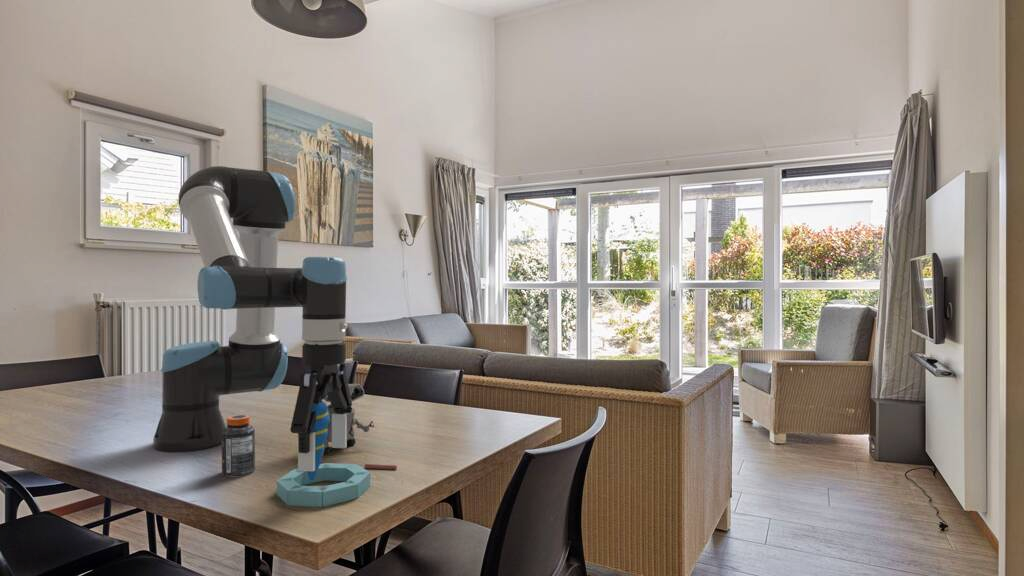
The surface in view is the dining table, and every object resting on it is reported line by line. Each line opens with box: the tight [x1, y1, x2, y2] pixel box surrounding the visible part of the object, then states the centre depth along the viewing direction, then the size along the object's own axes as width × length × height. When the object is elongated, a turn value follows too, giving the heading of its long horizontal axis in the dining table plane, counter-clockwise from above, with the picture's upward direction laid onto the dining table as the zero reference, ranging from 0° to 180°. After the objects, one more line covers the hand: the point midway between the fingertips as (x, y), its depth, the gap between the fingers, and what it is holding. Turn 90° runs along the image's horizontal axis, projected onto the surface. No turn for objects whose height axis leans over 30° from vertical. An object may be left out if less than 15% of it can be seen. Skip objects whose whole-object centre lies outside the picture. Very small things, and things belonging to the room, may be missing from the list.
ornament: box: [307, 400, 330, 480], centre depth 101 cm, size 5×5×15 cm
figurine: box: [323, 383, 375, 455], centre depth 130 cm, size 9×12×15 cm
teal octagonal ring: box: [276, 462, 371, 508], centre depth 105 cm, size 15×15×2 cm
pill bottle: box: [221, 414, 256, 478], centre depth 114 cm, size 6×6×11 cm
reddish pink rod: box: [363, 463, 398, 470], centre depth 117 cm, size 7×1×1 cm, turn 83°
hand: (323, 458), depth 105 cm, fingers open, 13 cm apart
